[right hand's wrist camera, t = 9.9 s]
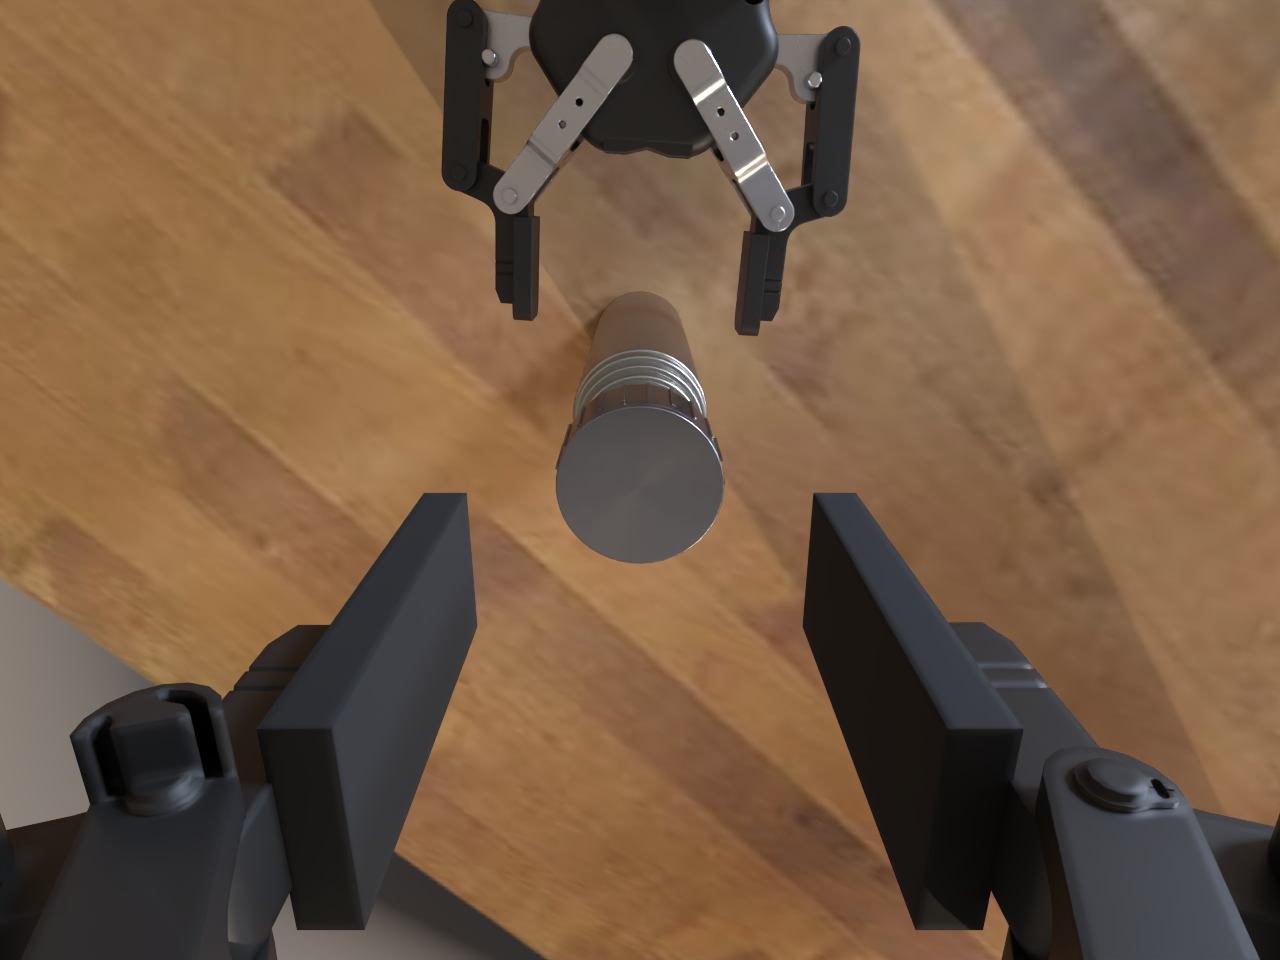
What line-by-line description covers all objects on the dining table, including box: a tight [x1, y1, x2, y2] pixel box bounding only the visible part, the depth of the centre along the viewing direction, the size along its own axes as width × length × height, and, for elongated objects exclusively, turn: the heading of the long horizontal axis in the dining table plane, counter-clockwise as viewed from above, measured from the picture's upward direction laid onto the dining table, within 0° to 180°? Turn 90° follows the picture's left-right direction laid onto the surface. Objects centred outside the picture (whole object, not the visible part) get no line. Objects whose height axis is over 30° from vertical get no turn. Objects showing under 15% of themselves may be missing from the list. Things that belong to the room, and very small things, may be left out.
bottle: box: [573, 292, 707, 421], centre depth 27 cm, size 4×4×20 cm
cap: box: [556, 383, 725, 563], centre depth 19 cm, size 4×4×2 cm
